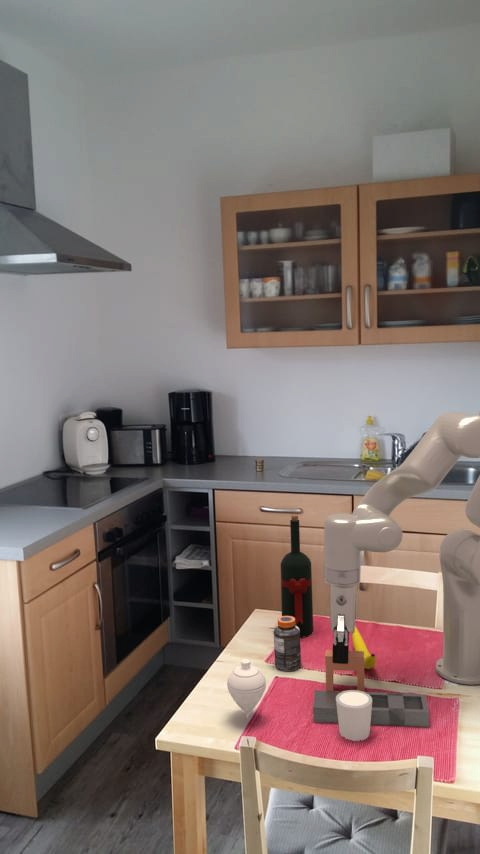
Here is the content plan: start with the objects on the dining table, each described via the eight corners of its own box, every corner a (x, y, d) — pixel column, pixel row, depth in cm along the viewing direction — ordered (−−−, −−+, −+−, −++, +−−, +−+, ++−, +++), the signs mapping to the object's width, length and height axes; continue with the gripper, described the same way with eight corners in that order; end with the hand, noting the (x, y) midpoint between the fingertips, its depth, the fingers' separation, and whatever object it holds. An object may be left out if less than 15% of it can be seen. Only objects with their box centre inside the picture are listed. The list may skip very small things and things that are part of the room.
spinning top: (254, 731, 144) (252, 672, 143) (221, 721, 149) (218, 664, 147) (274, 713, 151) (272, 656, 149) (241, 704, 155) (239, 649, 153)
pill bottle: (301, 660, 174) (300, 613, 172) (300, 672, 168) (299, 623, 166) (275, 660, 175) (274, 613, 173) (274, 671, 169) (272, 623, 167)
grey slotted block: (425, 708, 151) (425, 694, 150) (429, 727, 144) (429, 712, 143) (315, 703, 154) (314, 690, 154) (313, 721, 147) (313, 707, 147)
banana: (360, 644, 181) (360, 619, 180) (380, 682, 162) (380, 654, 161) (348, 645, 181) (348, 620, 180) (367, 682, 162) (366, 654, 161)
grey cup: (332, 724, 146) (332, 690, 145) (367, 722, 147) (367, 688, 146) (340, 744, 139) (339, 709, 138) (377, 741, 140) (376, 706, 139)
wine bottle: (283, 642, 184) (280, 522, 179) (281, 625, 194) (277, 512, 189) (316, 641, 184) (313, 521, 179) (311, 624, 194) (308, 510, 190)
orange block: (364, 686, 160) (363, 651, 159) (364, 693, 157) (364, 657, 156) (326, 685, 162) (325, 650, 160) (326, 692, 159) (325, 656, 158)
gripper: (360, 589, 147) (359, 672, 149) (360, 562, 164) (358, 637, 166) (322, 587, 148) (321, 670, 150) (325, 560, 165) (324, 635, 167)
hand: (340, 652), depth 158 cm, fingers open, 9 cm apart
